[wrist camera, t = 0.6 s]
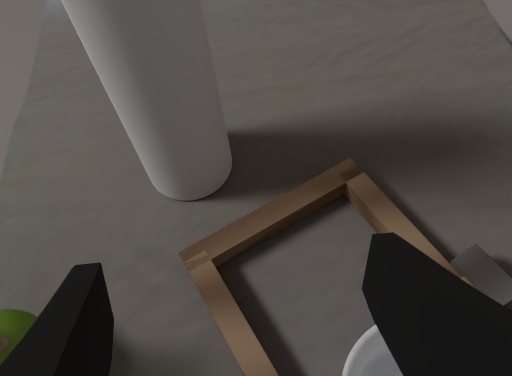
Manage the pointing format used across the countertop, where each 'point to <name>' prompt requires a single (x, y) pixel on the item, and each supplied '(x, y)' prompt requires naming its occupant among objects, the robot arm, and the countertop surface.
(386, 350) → the ramekin
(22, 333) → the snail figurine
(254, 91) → the countertop surface
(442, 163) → the countertop surface
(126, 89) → the white bottle
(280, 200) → the brown flat frame
